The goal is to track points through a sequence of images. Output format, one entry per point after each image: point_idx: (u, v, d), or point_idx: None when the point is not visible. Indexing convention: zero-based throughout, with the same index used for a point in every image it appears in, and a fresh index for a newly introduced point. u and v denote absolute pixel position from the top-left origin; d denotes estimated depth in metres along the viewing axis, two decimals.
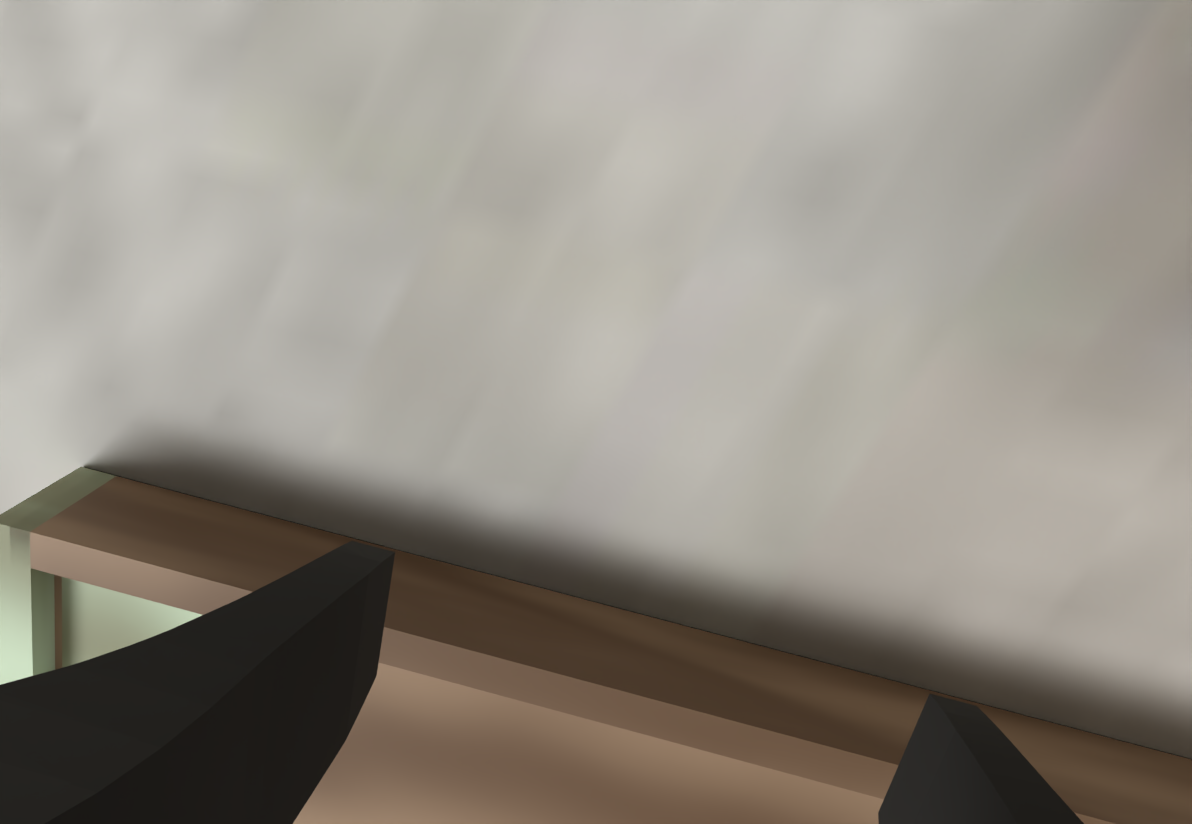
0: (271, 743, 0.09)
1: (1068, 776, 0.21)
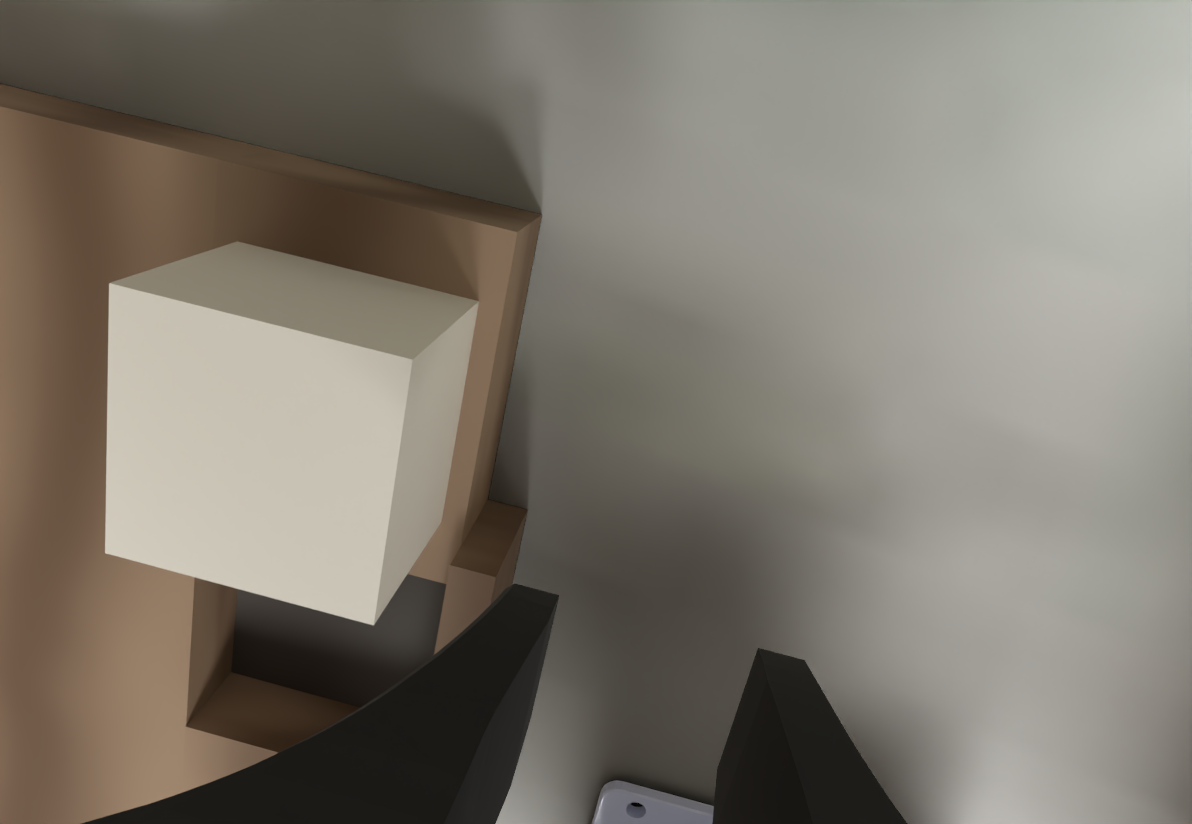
0: (478, 801, 0.09)
1: None
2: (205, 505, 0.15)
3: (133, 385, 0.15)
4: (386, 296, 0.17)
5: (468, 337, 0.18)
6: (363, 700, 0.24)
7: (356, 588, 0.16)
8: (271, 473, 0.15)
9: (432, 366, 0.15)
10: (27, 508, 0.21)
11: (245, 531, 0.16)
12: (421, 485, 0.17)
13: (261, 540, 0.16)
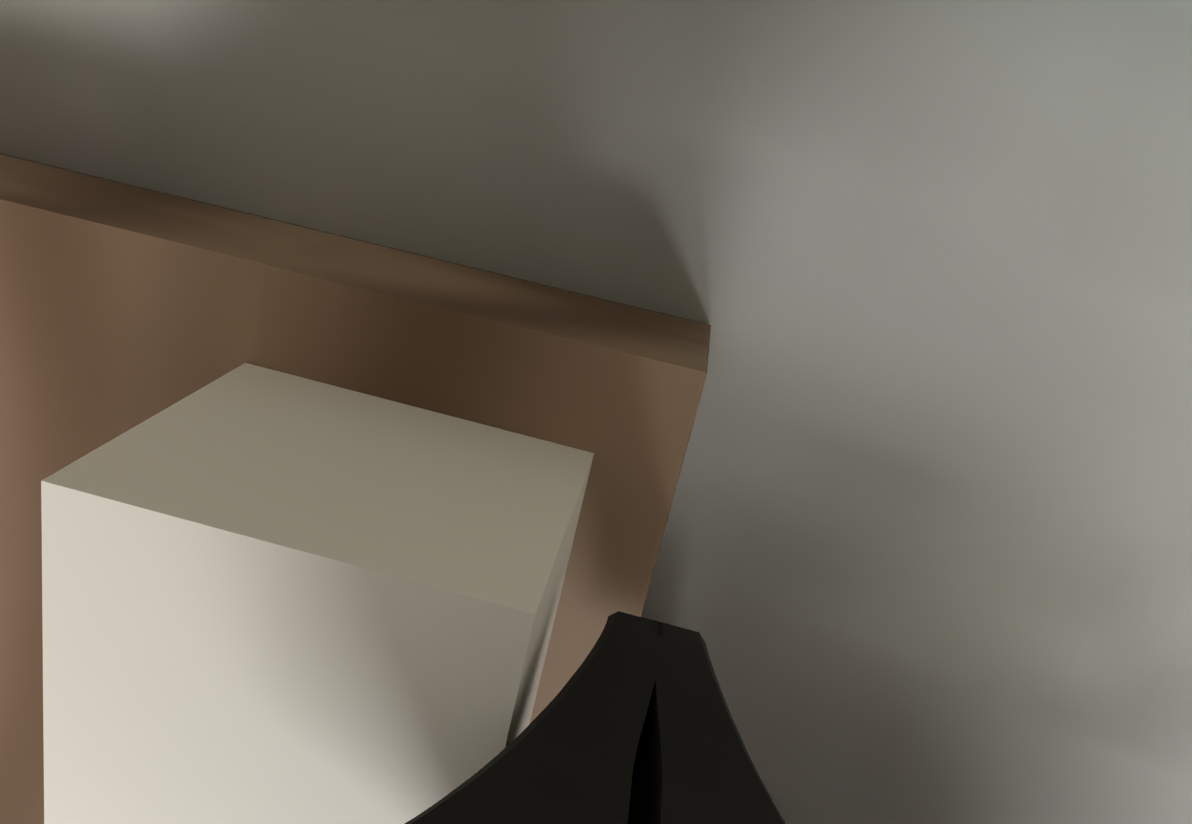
0: None
1: None
2: (195, 800, 0.10)
3: (83, 629, 0.09)
4: (467, 459, 0.11)
5: (579, 507, 0.12)
6: None
7: None
8: (300, 764, 0.10)
9: (549, 589, 0.10)
10: None
11: None
12: None
13: None
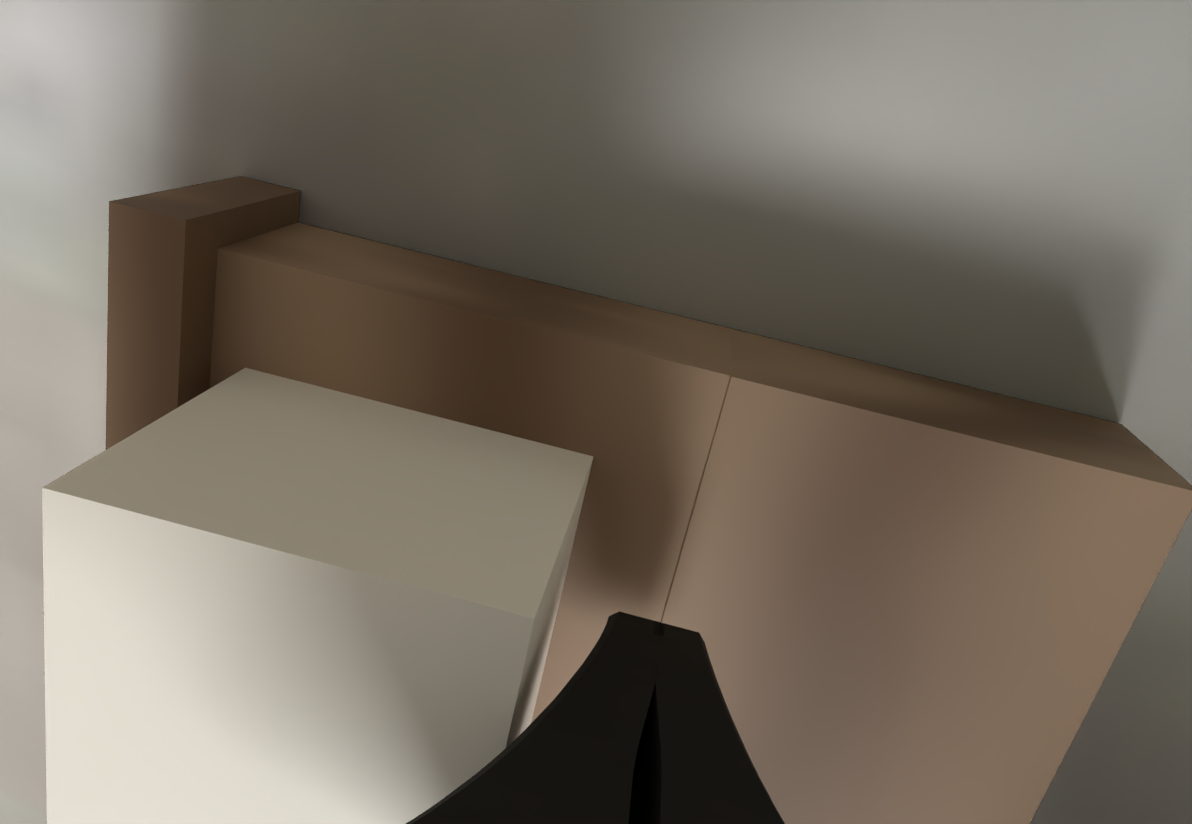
0: None
1: None
2: (198, 805, 0.10)
3: (84, 635, 0.09)
4: (466, 463, 0.11)
5: (579, 510, 0.12)
6: None
7: None
8: (301, 768, 0.10)
9: (549, 593, 0.10)
10: None
11: None
12: None
13: None
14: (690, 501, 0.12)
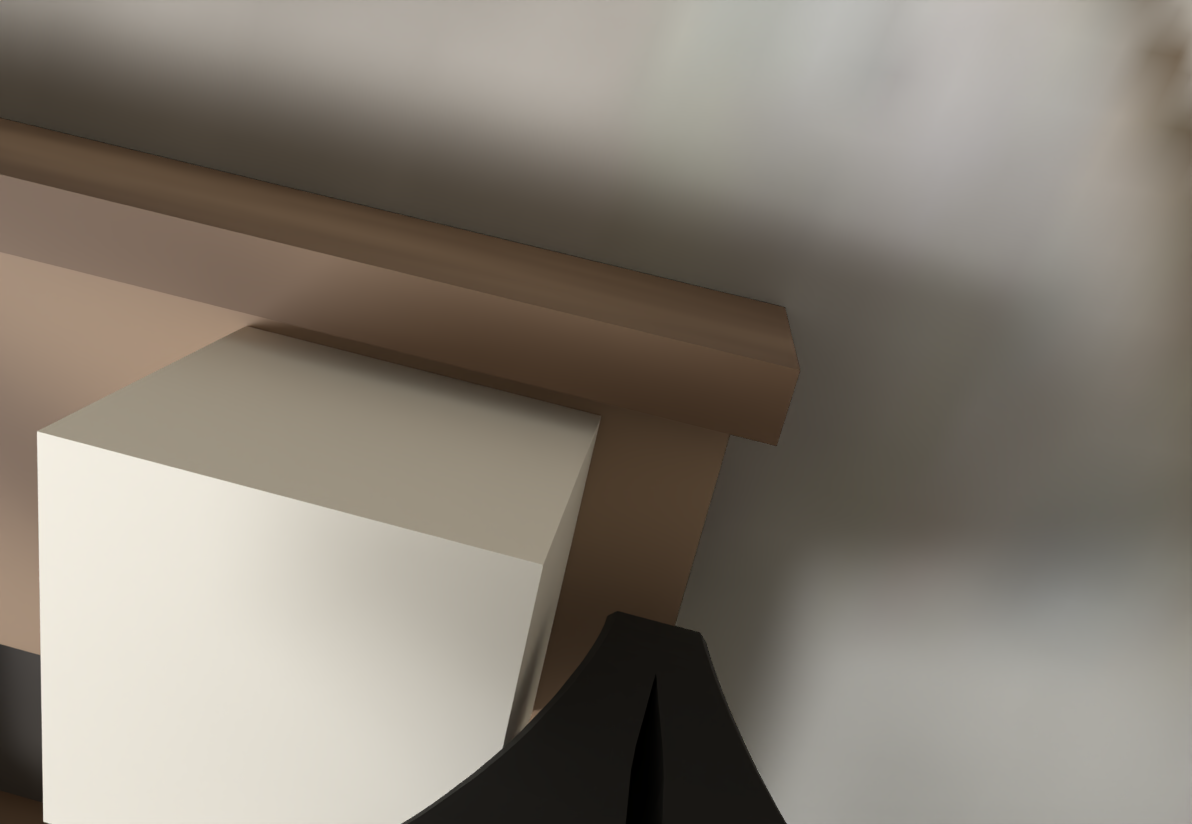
0: None
1: (226, 204, 0.12)
2: (176, 627, 0.09)
3: (369, 561, 0.09)
4: (534, 681, 0.12)
5: None
6: None
7: (96, 811, 0.10)
8: (255, 737, 0.10)
9: None
10: None
11: (147, 678, 0.09)
12: None
13: (137, 699, 0.10)
14: None
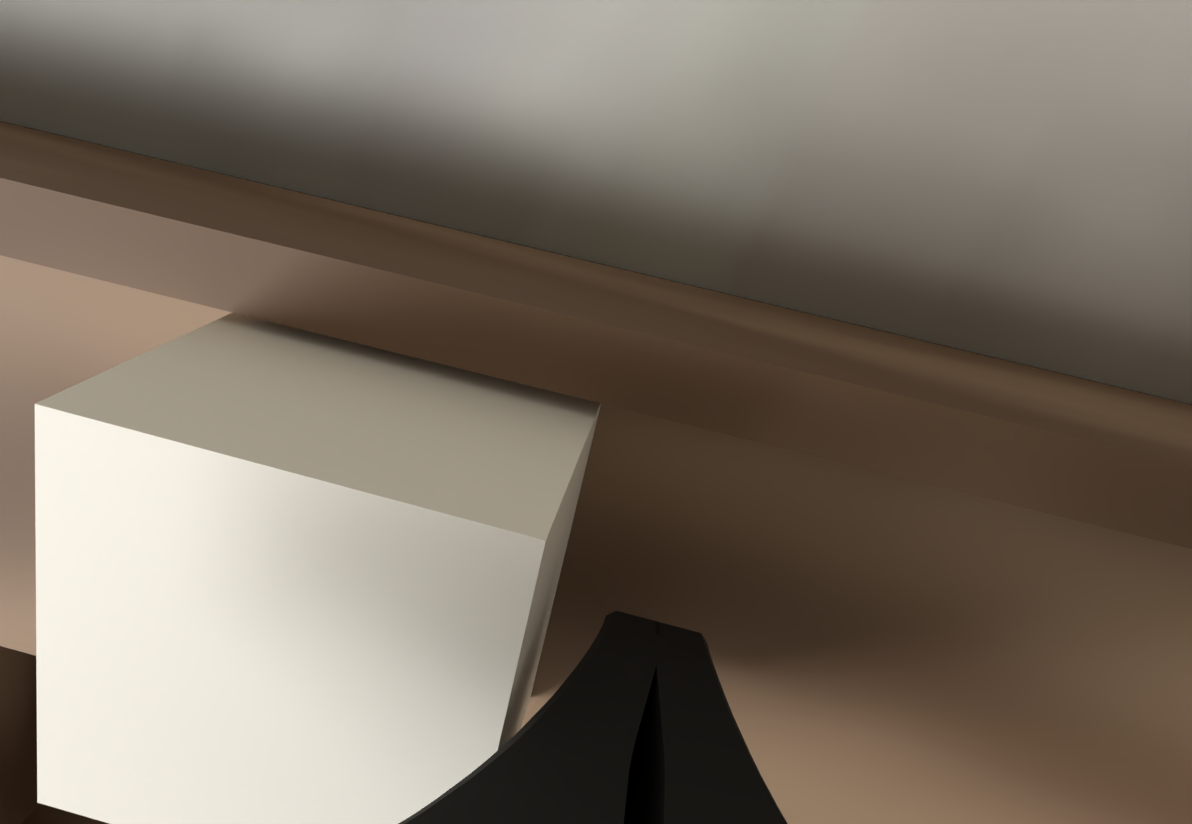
0: None
1: None
2: (174, 603, 0.09)
3: (370, 537, 0.09)
4: (533, 666, 0.12)
5: None
6: None
7: (90, 791, 0.10)
8: (253, 716, 0.09)
9: None
10: (1063, 695, 0.13)
11: (143, 655, 0.09)
12: None
13: (133, 676, 0.10)
14: None
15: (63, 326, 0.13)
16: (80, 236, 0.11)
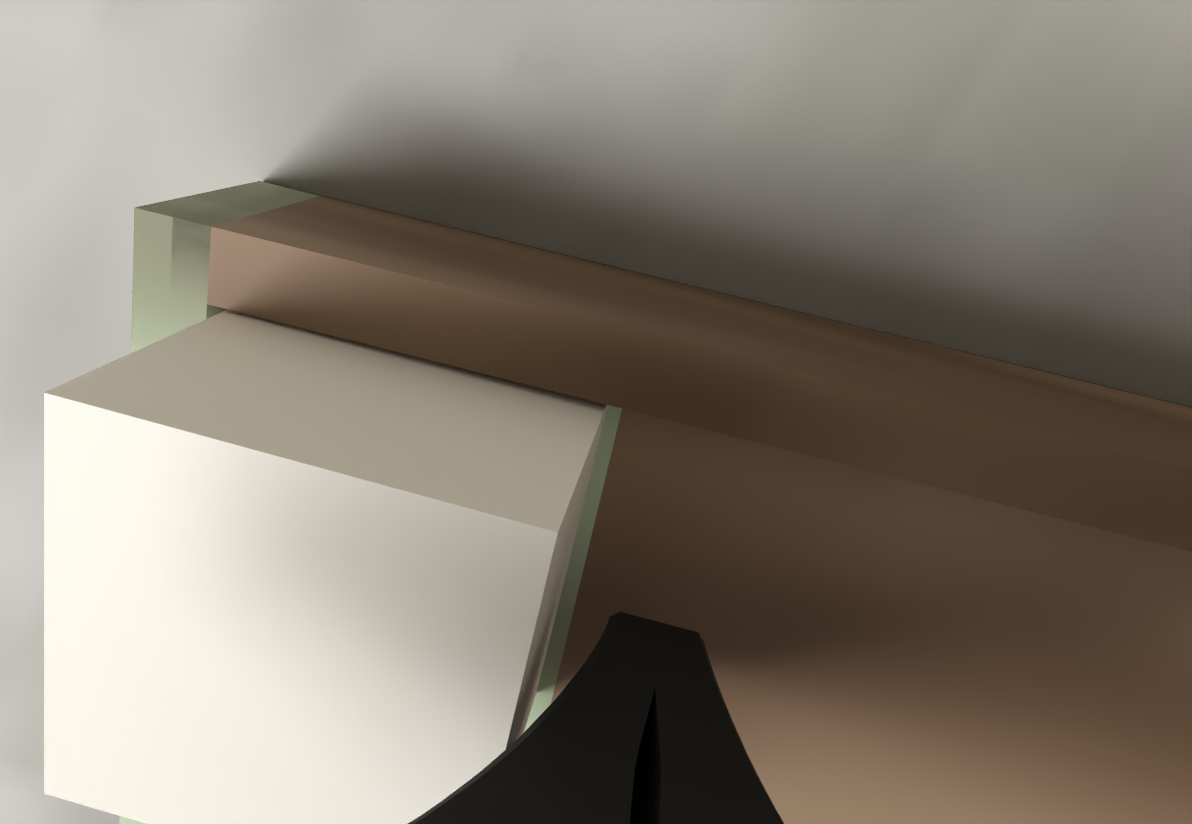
0: None
1: None
2: (184, 595, 0.09)
3: (380, 528, 0.08)
4: (540, 659, 0.12)
5: None
6: None
7: (99, 783, 0.10)
8: (262, 707, 0.09)
9: None
10: None
11: (152, 647, 0.09)
12: None
13: (142, 667, 0.09)
14: None
15: (813, 514, 0.12)
16: (927, 444, 0.11)
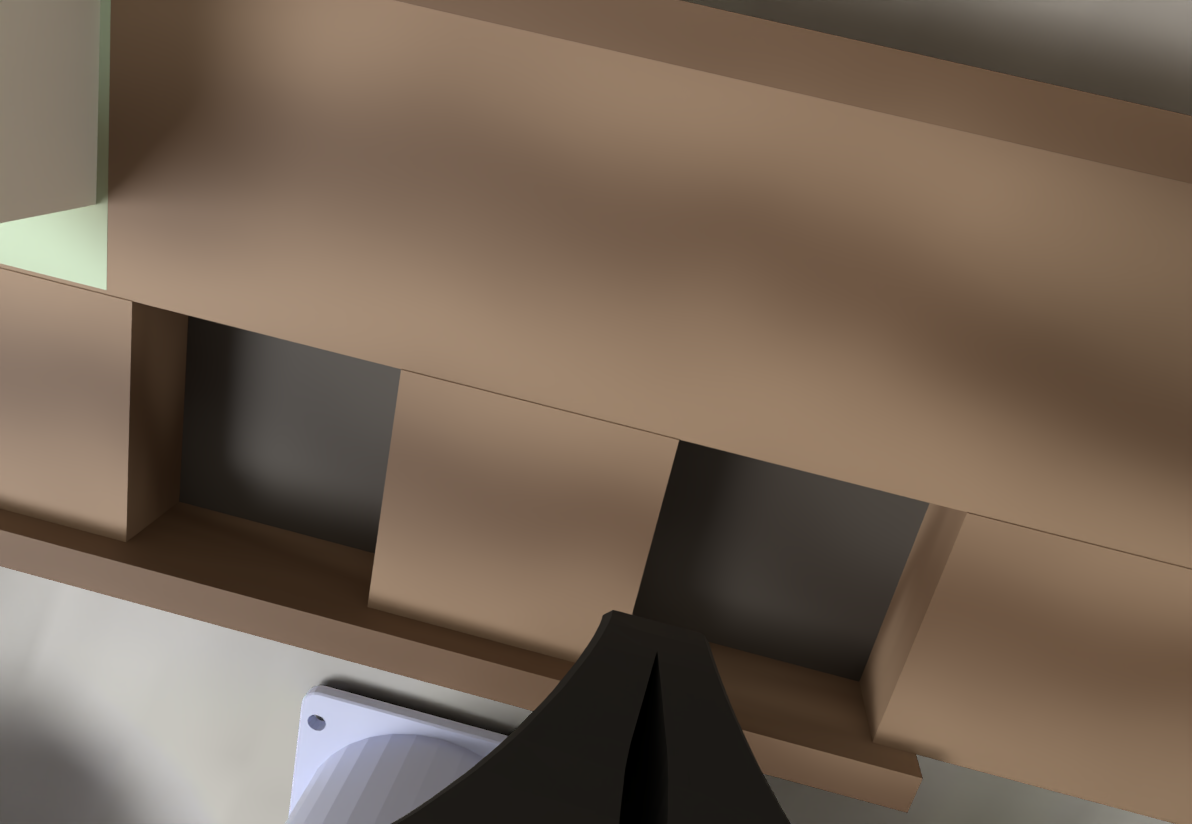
0: None
1: None
2: None
3: None
4: (57, 135, 0.17)
5: None
6: (657, 547, 0.22)
7: None
8: None
9: None
10: (995, 307, 0.17)
11: None
12: None
13: None
14: None
15: (251, 32, 0.17)
16: None
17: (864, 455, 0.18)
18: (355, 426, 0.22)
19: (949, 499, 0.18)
